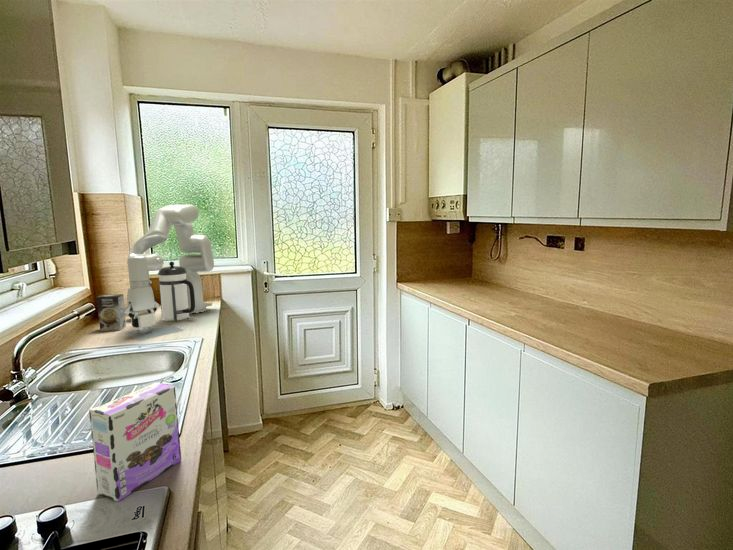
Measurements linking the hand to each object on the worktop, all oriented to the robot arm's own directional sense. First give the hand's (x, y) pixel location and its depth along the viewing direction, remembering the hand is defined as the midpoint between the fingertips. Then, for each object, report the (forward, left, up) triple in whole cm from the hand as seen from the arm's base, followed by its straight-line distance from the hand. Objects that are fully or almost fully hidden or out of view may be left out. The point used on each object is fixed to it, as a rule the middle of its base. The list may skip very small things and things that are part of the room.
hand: (143, 324), depth 174 cm
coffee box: (+5, -25, -5) cm, 26 cm away
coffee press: (-21, -15, -5) cm, 26 cm away
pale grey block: (0, 0, -4) cm, 3 cm away
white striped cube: (0, 0, 0) cm, 0 cm away
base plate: (-4, +2, -5) cm, 7 cm away
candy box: (+37, +105, -5) cm, 111 cm away
